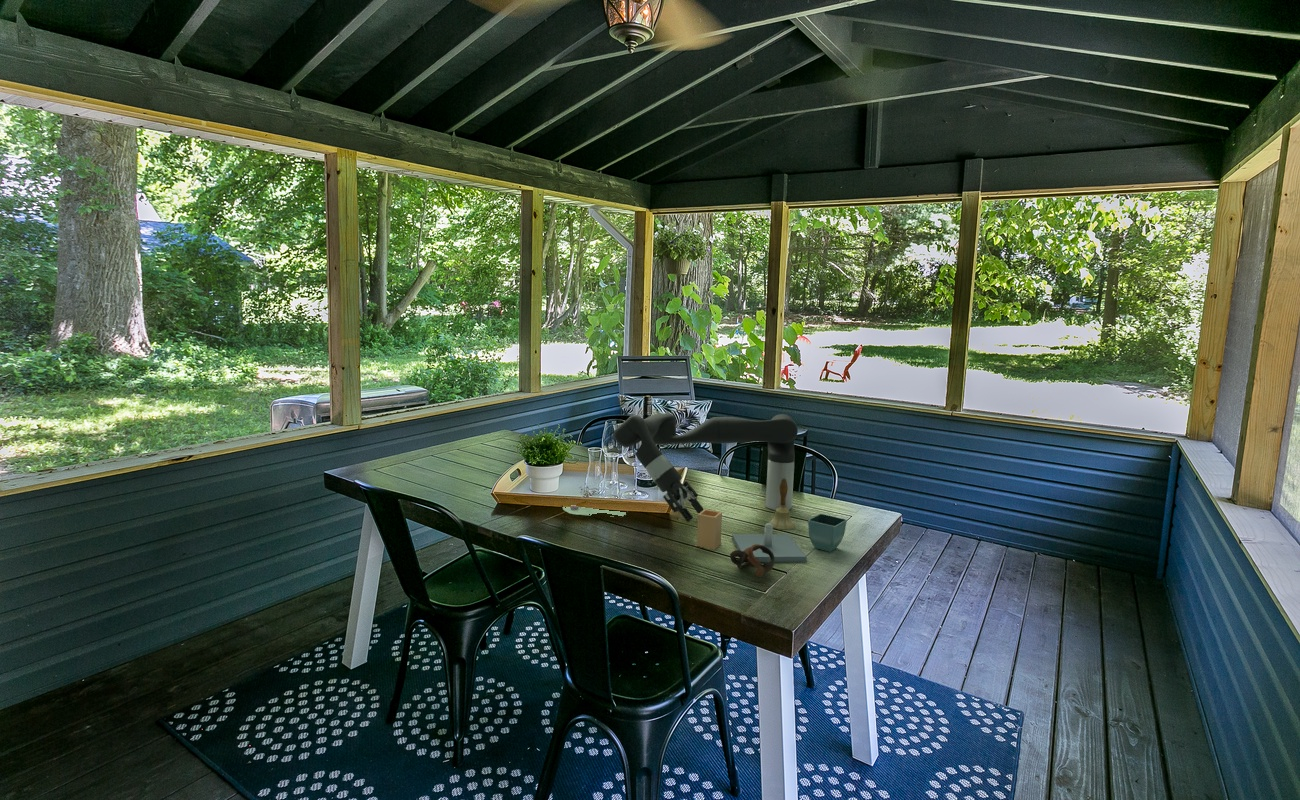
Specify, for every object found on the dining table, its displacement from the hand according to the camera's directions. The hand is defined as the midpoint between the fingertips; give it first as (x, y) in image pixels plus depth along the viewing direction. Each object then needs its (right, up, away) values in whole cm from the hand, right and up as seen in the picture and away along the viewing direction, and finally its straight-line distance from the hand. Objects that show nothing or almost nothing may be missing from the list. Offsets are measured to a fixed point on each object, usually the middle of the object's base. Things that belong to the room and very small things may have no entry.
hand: (696, 515), depth 200 cm
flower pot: (+39, -10, 0) cm, 40 cm away
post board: (+21, -10, -2) cm, 23 cm away
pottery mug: (+14, -12, -17) cm, 25 cm away
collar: (+4, -9, 0) cm, 10 cm away
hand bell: (+30, -7, +19) cm, 36 cm away
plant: (-33, -4, +33) cm, 47 cm away
